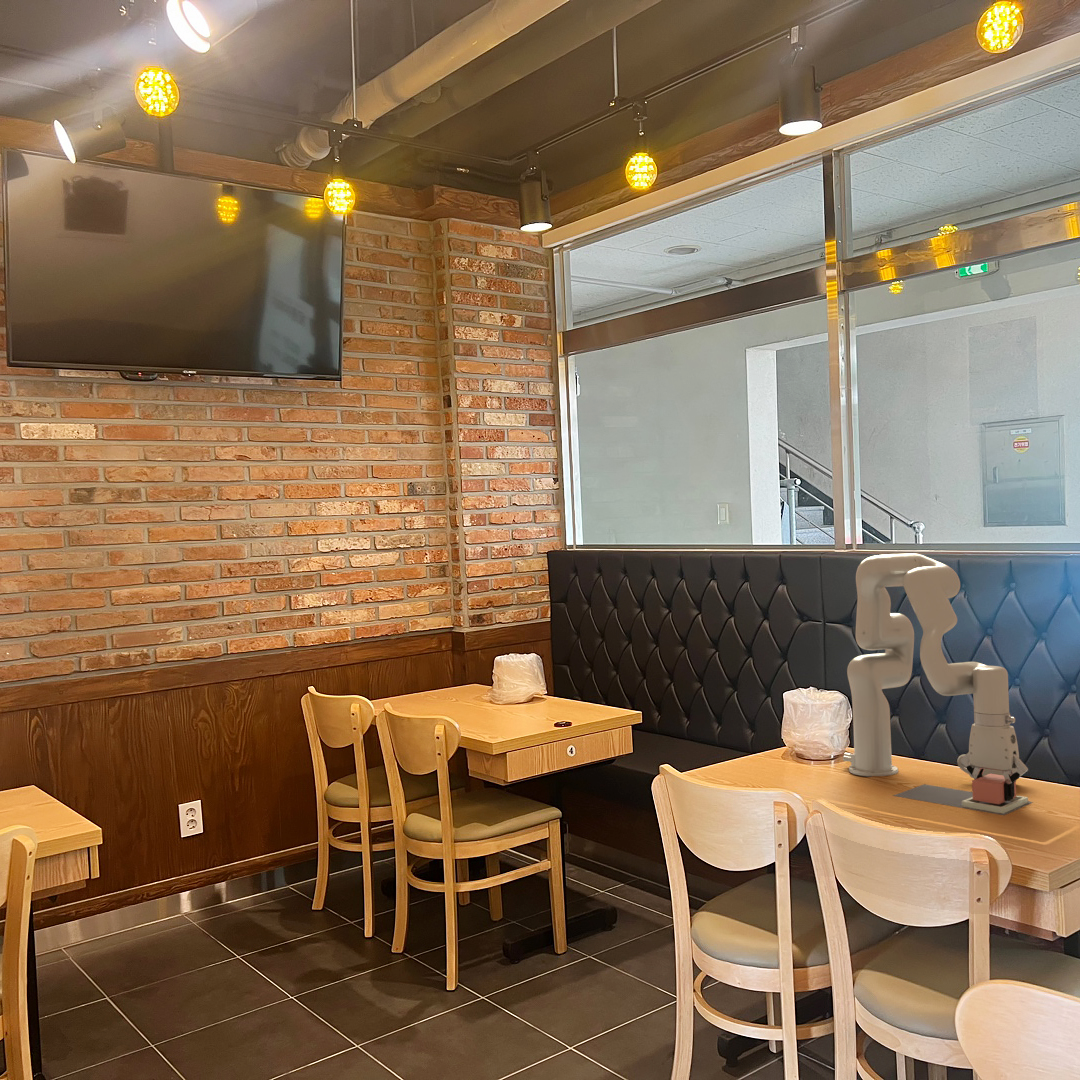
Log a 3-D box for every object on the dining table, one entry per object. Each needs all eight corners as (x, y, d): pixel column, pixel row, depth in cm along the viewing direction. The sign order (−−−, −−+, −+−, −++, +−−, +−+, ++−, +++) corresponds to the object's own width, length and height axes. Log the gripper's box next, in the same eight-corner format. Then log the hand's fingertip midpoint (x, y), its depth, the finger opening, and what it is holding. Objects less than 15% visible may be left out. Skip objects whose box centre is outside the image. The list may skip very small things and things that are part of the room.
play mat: (893, 797, 249) (893, 795, 249) (924, 786, 259) (924, 784, 259) (1004, 817, 229) (1004, 815, 229) (1033, 804, 239) (1033, 802, 239)
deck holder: (962, 806, 237) (961, 801, 237) (987, 795, 246) (987, 790, 246) (1003, 813, 230) (1003, 808, 230) (1028, 802, 238) (1027, 797, 238)
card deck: (990, 792, 243) (990, 773, 243) (1016, 796, 239) (1015, 777, 239) (972, 799, 237) (972, 780, 237) (998, 804, 233) (997, 784, 233)
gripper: (1036, 721, 234) (1039, 800, 234) (963, 713, 247) (966, 788, 247) (1022, 726, 229) (1025, 807, 229) (948, 718, 242) (951, 794, 242)
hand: (994, 796), depth 238 cm, fingers closed on card deck, 5 cm apart
